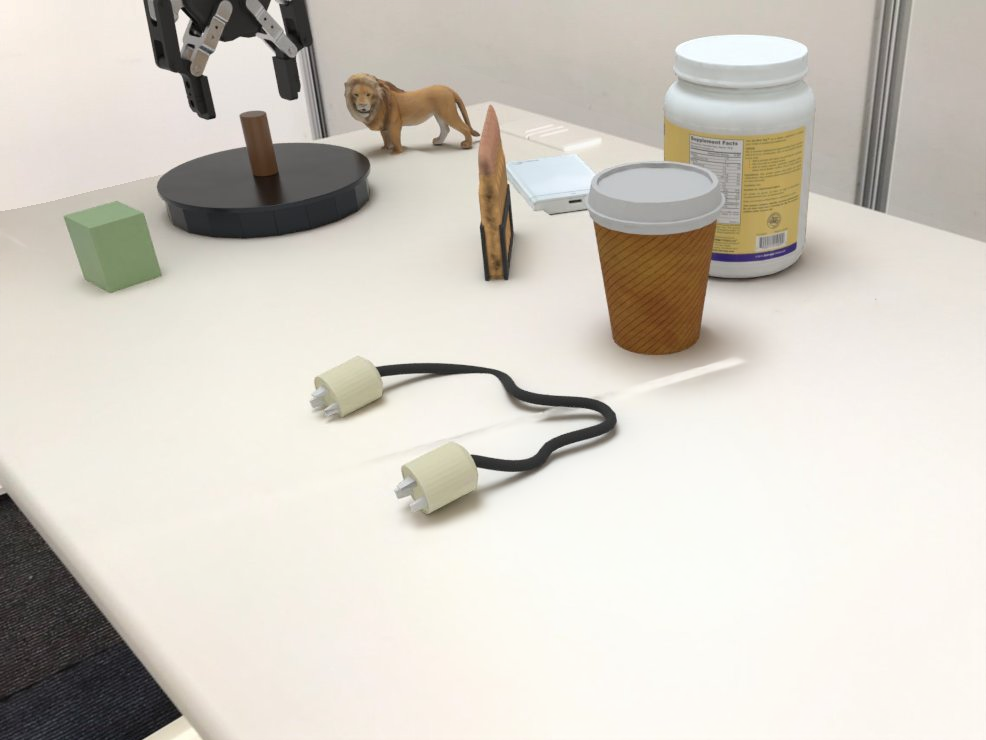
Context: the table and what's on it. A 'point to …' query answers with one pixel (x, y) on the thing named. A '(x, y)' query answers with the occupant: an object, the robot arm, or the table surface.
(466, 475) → the cable
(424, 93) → the lion figurine
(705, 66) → the supplement tub
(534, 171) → the hard drive
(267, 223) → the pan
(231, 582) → the table surface
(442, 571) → the table surface
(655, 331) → the disposable coffee cup
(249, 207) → the lid
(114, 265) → the block
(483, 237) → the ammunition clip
